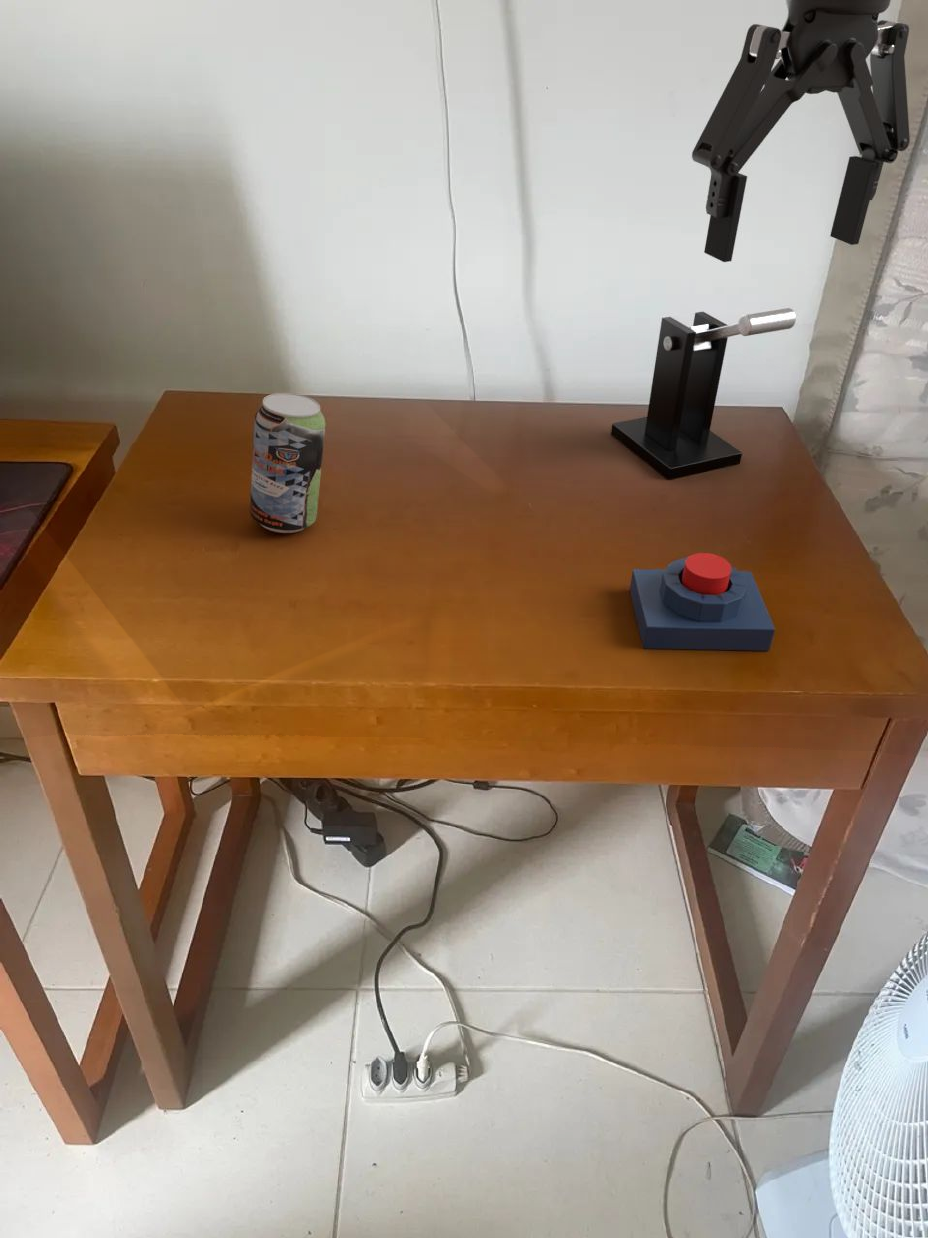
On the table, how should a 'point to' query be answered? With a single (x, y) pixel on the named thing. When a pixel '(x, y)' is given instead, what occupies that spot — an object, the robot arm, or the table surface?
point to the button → (706, 574)
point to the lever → (745, 327)
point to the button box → (699, 612)
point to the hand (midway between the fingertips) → (782, 248)
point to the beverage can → (287, 462)
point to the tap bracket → (681, 406)
